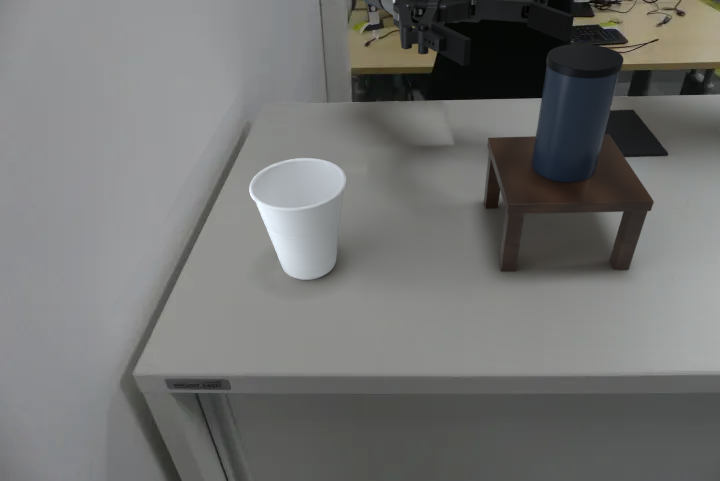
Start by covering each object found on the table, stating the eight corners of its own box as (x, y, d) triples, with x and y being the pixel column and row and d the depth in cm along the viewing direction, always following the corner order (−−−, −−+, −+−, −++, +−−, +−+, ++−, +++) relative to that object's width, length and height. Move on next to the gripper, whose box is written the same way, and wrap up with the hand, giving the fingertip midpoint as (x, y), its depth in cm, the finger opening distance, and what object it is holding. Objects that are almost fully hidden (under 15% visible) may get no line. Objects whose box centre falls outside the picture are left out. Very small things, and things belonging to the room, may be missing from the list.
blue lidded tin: (586, 149, 63) (610, 42, 55) (605, 182, 58) (634, 68, 50) (524, 151, 63) (540, 45, 56) (537, 184, 58) (557, 71, 51)
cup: (250, 285, 61) (231, 202, 55) (286, 232, 69) (273, 153, 62) (336, 301, 59) (327, 215, 52) (363, 243, 66) (358, 162, 59)
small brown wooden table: (593, 197, 71) (609, 133, 65) (631, 270, 60) (654, 201, 54) (481, 200, 72) (488, 137, 66) (499, 272, 61) (508, 204, 55)
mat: (632, 111, 89) (633, 109, 89) (667, 155, 78) (668, 153, 78) (543, 114, 90) (543, 112, 90) (565, 158, 79) (565, 155, 79)
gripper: (492, 8, 82) (600, 52, 67) (336, 41, 74) (419, 99, 59) (497, -48, 77) (615, -16, 62) (332, -20, 69) (420, 25, 54)
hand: (520, 40), depth 60 cm, fingers open, 13 cm apart
